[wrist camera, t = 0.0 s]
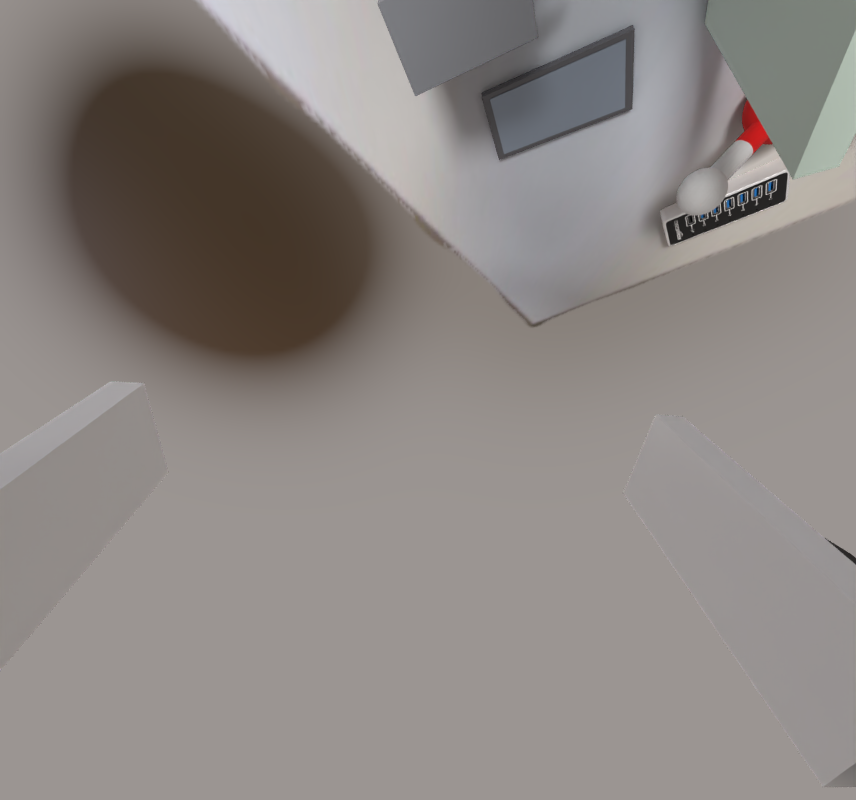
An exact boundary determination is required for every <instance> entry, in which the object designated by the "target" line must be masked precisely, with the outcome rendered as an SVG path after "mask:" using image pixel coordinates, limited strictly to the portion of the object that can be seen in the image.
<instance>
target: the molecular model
mask: <svg viewBox="0 0 856 800" xmlns="http://www.w3.org/2000/svg"><path fill="white" fill-rule="evenodd" d="M742 124H743V128H744V132H743V133H742V134H741V135H740V136H739V138H738V139H737V140H736V141H735V142H734V143H733V144H732V145H731V146H730V147H729V148H728V149H727V150H726V151H725V152H724V153H723V154H722V156H721V157H720V158H719V159H718V160H717V161H716V162H715V163H714V164H713V165H712V166H711V167H710V168H702V169H699V170H696V171H694V172H693V173H691V174H690V175H688V176H687V177H686V178H685V179H684V180H683V181H682V183H681V185H680V186H679V188H678V191H677V197H676V198H677V204H678V206H679V208H680V209H681V210H682V211H683V212H684V213H686V214H689V215H703V214H706V213H709V212H710V211H712V210H714V209H715V208H716V207H717V206H719V205H720V203H721V202H722V201H723V200H724V198H725V196H726V194H727V190H728V179H729V178H730V177H731V176H732V175H733V174H734V173H735V172H736V171H737V170H738V169H739V168H740V167H741V166H742V165H743V164H744V163H745V162H746V161H747V160H748V159H749V158H750V157H751V156H752V155H753V153H754V152H755V151H756V150H757V149H758V148H759V147H760V146H761V145H762V144H772V142H771V140H770V138H769V136H768V135H767V133H766V131H765V129H764V128H763V126H762V124H761V122H760V121H759V119H758V117H757V115H756V114H755V112H754V110H753V108H752V107H751V105H750V103H749V101H748V99H747V101H746V103H745V106H744V109H743V114H742Z"/></svg>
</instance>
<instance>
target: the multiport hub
mask: <svg viewBox="0 0 856 800" xmlns="http://www.w3.org/2000/svg"><path fill="white" fill-rule="evenodd" d="M789 180H790V174H789V172H788V170H787V168H786V166H785V165H784V163H783V161H782V159H781V158H777V159H775V160H773V161H770V162H768V163H766V164H764V165H761V166H759V167H757V168H754V169H752V170H750V171H748V172H745V173H743V174H741V175H739V176H736V177H734V178H732V179H729V180H728V190H727V194H726V196H725V198H724V200H723V201H722V202H721V203H720V205H719V206H717V207H716V208H715V209H714V210H712V211H710V212H709V213H706V214H703V215H689V214H686V213H684V212H683V211H682V210H681V209H680V208H679V206H678V204H677V203H675V204H672V205H670V206H668V207H666V208H663V209H662V210H661V211H660V216H661V221H662V225H663V229H664V234H665V237H666V240H667V243H668V245H669V246H673V245H676V244H678V243H681V242H683V241H686V240H688V239H691V238H694V237H696V236H699V235H701V234H704V233H707V232H709V231H712V230H714V229H717V228H719V227H722V226H725V225H727V224H730V223H732V222H735V221H737V220H740V219H743V218H745V217H748V216H750V215H753V214H756V213H758V212H761V211H763V210H766V209H768V208H771V207H774V206H776V205H779V204H781V203H783V202H785V201H786V200H787V199H788V190H789Z"/></svg>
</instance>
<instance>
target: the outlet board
mask: <svg viewBox="0 0 856 800" xmlns="http://www.w3.org/2000/svg"><path fill="white" fill-rule="evenodd" d="M705 25H706V27H707V29H708V31H709V32H710V34H711V36H712V38H713V39H714V41H715V43H716V45H717V47H718V48H719V50H720V52H721V54H722V55H723V57H724V59H725V61H726V62H727V64H728V66H729V68H730V69H731V71H732V73H733V75H734V77H735V78H736V80H737V82H738V84H739V85H740V87H741V89H742V91H743V92H744V94H745V96H746V98H747V99H748V101H749V103H750V105H751V107H752V108H753V110H754V112H755V114H756V115H757V117H758V119H759V121H760V122H761V124H762V126H763V128H764V129H765V131H766V133H767V135H768V136H769V138H770V140H771V142H772V144H773V145H774V147H775V149H776V151H777V152H778V154H779V156H780V158H781V159H782V161H783V163H784V165H785V166H786V168H787V170H788V172H789V174H790V175H791V177H792V179H797V178H800V177H804V176H807V175H811V174H814V173H818V172H821V171H825V170H828V169H832V168H835V167H839V165H840V163H841V161H842V159H843V157H844V155H845V153H846V151H847V149H848V148H849V146H850V144H851V142H852V140H853V138H854V136H855V134H856V0H708V4H707V11H706V18H705Z"/></svg>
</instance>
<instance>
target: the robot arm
mask: <svg viewBox="0 0 856 800" xmlns="http://www.w3.org/2000/svg"><path fill="white" fill-rule="evenodd" d="M168 473H169V471H168V468H167V464H166V460H165V457H164V453H163V449H162V446H161V442H160V439H159V435H158V432H157V428H156V424H155V421H154V418H153V414H152V410H151V407H150V403H149V399H148V396H147V393H146V389H145V385H144V383H131V382H115V381H111V382H109V383H108V384H106V385H105V386H103V387H102V388H100V389H98V390H97V391H95V392H94V393H92V394H91V395H89V396H88V397H86V398H85V399H83V400H82V401H80V402H78V403H77V404H75V405H74V406H72V407H71V408H69V409H68V410H67V411H65V412H63V413H62V414H60V415H58V416H57V417H55V418H54V419H52V420H51V421H49V422H48V423H46V424H45V425H43V426H42V427H40V428H39V429H37V430H35V431H34V432H33V433H31V434H29V435H28V436H26V437H25V438H23V439H22V440H20V441H19V442H17V443H16V444H14V445H13V446H11V447H9V448H8V449H6V450H5V451H3V452H2V453H0V671H1V670H2V668H3V667H4V666H5V665H6V664H7V662H8V661H9V660H10V659H11V658H12V657H13V655H14V654H15V653H16V652H17V651H18V650H19V648H20V647H21V646H22V645H23V644H24V642H25V641H26V640H27V639H28V638H29V637H30V635H31V634H32V633H33V632H34V631H35V630H36V628H37V627H38V626H39V625H40V624H41V622H42V621H43V620H44V619H45V618H46V616H47V615H48V614H49V613H50V612H51V611H52V609H53V608H54V607H55V606H56V605H57V603H58V602H59V601H60V600H61V599H62V598H63V597H64V595H65V594H66V593H67V592H68V591H69V589H70V588H71V587H72V586H73V585H74V583H75V582H76V581H77V580H78V579H79V578H80V576H81V575H82V574H83V573H84V572H85V571H86V569H87V568H88V567H89V566H90V565H91V563H92V562H93V561H94V560H95V559H96V558H97V556H98V555H99V554H100V553H101V552H102V550H103V549H104V548H105V547H106V546H107V545H108V543H109V542H110V541H111V540H112V539H113V538H114V536H115V535H116V534H117V533H118V532H119V530H120V529H121V528H122V527H123V526H124V525H125V523H126V522H127V521H128V520H129V519H130V517H131V516H132V515H133V514H134V513H135V511H136V510H137V509H138V508H139V507H140V506H141V505H142V503H143V502H144V501H145V500H146V499H147V497H148V496H149V495H150V494H151V493H152V492H153V490H154V489H155V488H156V487H157V486H158V484H159V483H160V482H161V481H162V480H163V479H164V477H165V476H166V475H167V474H168ZM623 494H624V496H625V497H626V499H627V500H628V501H629V503H630V505H631V506H632V508H633V509H634V510H635V512H636V513H637V515H638V516H639V518H640V519H641V521H642V522H643V524H644V525H645V527H646V528H647V530H648V531H649V533H650V534H651V535H652V537H653V538H654V540H655V541H656V543H657V544H658V546H659V547H660V549H661V550H662V552H663V553H664V555H665V556H666V558H667V559H668V561H669V562H670V563H671V565H672V566H673V568H674V569H675V571H676V572H677V574H678V575H679V577H680V578H681V580H682V581H683V583H684V584H685V585H686V587H687V588H688V590H689V591H690V593H691V594H692V596H693V597H694V599H695V600H696V602H697V603H698V605H699V606H700V607H701V609H702V610H703V612H704V613H705V615H706V616H707V618H708V619H709V621H710V622H711V624H712V625H713V627H714V628H715V630H716V631H717V633H718V634H719V635H720V637H721V638H722V640H723V641H724V643H725V644H726V646H727V647H728V648H729V650H730V652H731V653H732V655H733V656H734V657H735V659H736V660H737V662H738V663H739V665H740V666H741V668H742V669H743V671H744V672H745V674H746V675H747V677H748V678H749V679H750V681H751V682H752V684H753V685H754V687H755V688H756V690H757V691H758V693H759V694H760V696H761V697H762V699H763V700H764V701H765V703H766V705H767V706H768V707H769V709H770V710H771V712H772V713H773V715H774V716H775V718H776V719H777V721H778V722H779V724H780V725H781V726H782V728H783V730H784V731H785V732H786V734H787V735H788V737H789V738H790V740H791V741H792V743H793V744H794V746H795V747H796V748H797V750H798V751H799V753H800V754H801V756H802V757H803V759H804V760H805V762H806V763H807V765H808V766H809V768H810V769H811V771H812V772H813V774H814V775H815V776H816V778H817V779H818V781H819V782H820V784H821V785H822V787H856V558H855V557H854V556H853V555H851V554H850V553H848V552H847V551H845V550H843V549H842V548H840V547H839V546H837V545H835V544H834V543H832V542H831V541H829V540H827V539H826V538H824V537H823V536H821V535H820V534H819V533H818V532H817V531H816V530H814V529H813V528H812V527H811V526H810V525H809V524H808V523H806V522H805V521H804V520H803V519H802V518H801V517H799V516H798V515H797V514H796V513H795V512H794V511H792V510H791V509H790V508H789V507H788V506H787V505H785V504H784V503H783V502H782V501H781V500H780V499H778V498H777V497H776V496H775V495H774V494H773V493H771V492H770V491H769V490H768V489H767V488H766V487H764V486H763V485H762V484H761V483H760V482H759V481H757V480H756V479H755V478H754V477H753V476H752V475H750V474H749V473H748V472H747V471H746V470H745V469H744V468H742V467H741V466H740V465H739V464H737V463H736V462H735V461H734V460H733V459H732V458H731V457H729V456H728V455H727V454H726V453H725V452H724V451H723V450H721V449H720V448H719V447H718V446H717V445H716V444H714V443H713V442H712V441H711V440H710V439H708V438H707V437H706V436H705V435H704V434H703V433H702V432H700V431H699V430H698V429H697V428H696V427H695V426H693V425H692V424H691V423H690V422H689V421H687V420H686V419H685V418H684V417H683V416H669V415H655V417H654V420H653V422H652V424H651V427H650V429H649V432H648V434H647V436H646V439H645V441H644V444H643V446H642V448H641V451H640V453H639V456H638V458H637V461H636V463H635V465H634V468H633V470H632V473H631V475H630V477H629V480H628V482H627V485H626V487H625V489H624V492H623Z"/></svg>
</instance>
